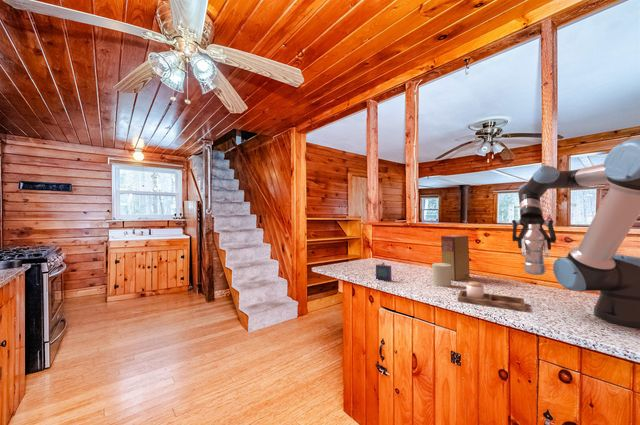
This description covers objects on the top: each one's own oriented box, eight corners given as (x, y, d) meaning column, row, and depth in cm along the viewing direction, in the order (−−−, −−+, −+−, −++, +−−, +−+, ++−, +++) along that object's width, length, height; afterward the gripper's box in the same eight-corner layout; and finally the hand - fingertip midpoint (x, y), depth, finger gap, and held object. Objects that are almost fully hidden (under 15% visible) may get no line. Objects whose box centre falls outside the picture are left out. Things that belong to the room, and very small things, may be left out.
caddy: (523, 305, 110) (523, 298, 110) (525, 314, 101) (525, 306, 101) (461, 296, 123) (461, 290, 123) (458, 303, 114) (457, 296, 114)
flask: (392, 280, 154) (391, 262, 154) (390, 281, 152) (390, 263, 152) (376, 278, 159) (376, 261, 159) (375, 280, 156) (374, 261, 156)
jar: (484, 299, 116) (483, 282, 116) (483, 303, 111) (483, 285, 110) (467, 296, 119) (467, 280, 119) (466, 300, 114) (465, 283, 114)
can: (453, 289, 135) (453, 265, 135) (434, 288, 137) (434, 265, 137) (448, 284, 144) (448, 262, 144) (430, 283, 146) (430, 261, 146)
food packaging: (456, 274, 164) (455, 234, 163) (470, 278, 155) (469, 235, 155) (441, 277, 158) (440, 235, 158) (455, 281, 149) (454, 236, 149)
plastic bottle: (547, 277, 100) (546, 224, 100) (524, 275, 104) (524, 224, 104) (544, 273, 106) (543, 223, 106) (523, 272, 109) (522, 223, 109)
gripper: (559, 217, 112) (567, 262, 99) (503, 217, 123) (504, 258, 110) (561, 204, 108) (570, 250, 94) (503, 206, 119) (504, 247, 105)
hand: (534, 254), depth 102 cm, fingers closed on plastic bottle, 6 cm apart
